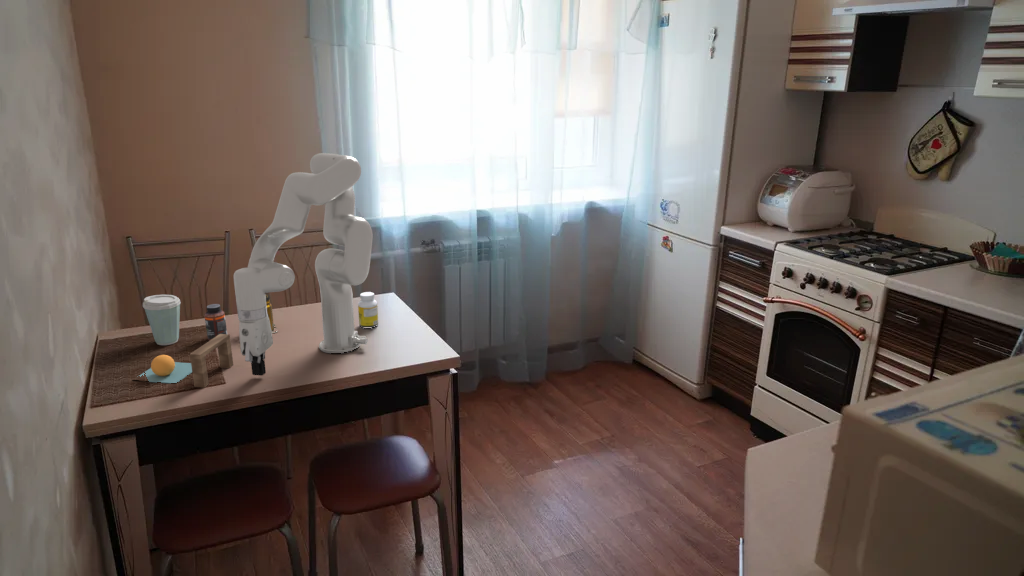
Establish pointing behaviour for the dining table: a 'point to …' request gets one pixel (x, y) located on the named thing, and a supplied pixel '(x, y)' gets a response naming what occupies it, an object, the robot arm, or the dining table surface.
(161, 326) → the disposable coffee cup
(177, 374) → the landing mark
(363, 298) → the pill bottle
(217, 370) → the dining table surface
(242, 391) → the dining table surface
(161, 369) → the ball
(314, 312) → the dining table surface
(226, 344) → the bridge
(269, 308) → the condiment
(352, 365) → the dining table surface
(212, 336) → the supplement bottle
